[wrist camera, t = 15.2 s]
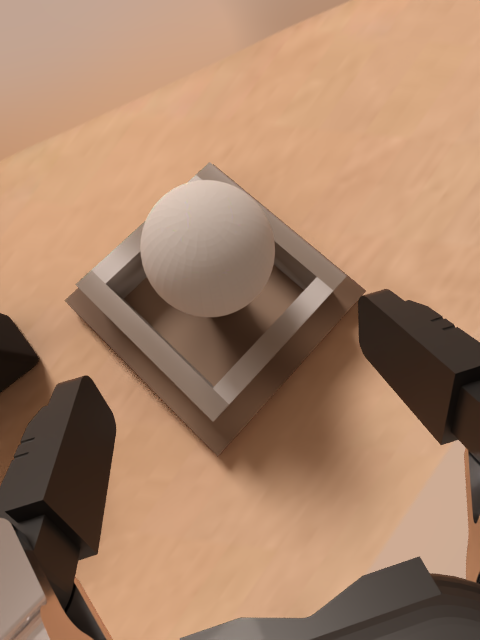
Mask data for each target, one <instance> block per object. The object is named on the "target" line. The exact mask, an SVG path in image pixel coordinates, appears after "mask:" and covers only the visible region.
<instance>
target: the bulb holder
mask: <svg viewBox="0 0 480 640" xmlns="http://www.w3.org/2000/svg"><path fill="white" fill-rule="evenodd" d="M198 180H214V181H220V182H224V183H228V184H230V185H233V186H235V187H237V188H239V189H240V190H242V191H244V192H245V193H247V192H246V191H245V190H244V189H243V188H241V187H240V186H239V185H238V184H236V183H235V182H234V181H233V180H232V179H230V178H229V177H228V176H227V175H226V174H224V173H223V172H222V171H221V170H220V169H218V168H217V167H216V166H215V165H214V164H213V165H212V164H211V163H210V162H209V163H208V164H207V165H206V166H205V167H204V168H203V169H202V170H201V171H200V172H198V173H197V174H196V175H195V176H194V177H193V178H192V179H191V180H190V181H189V182H193V181H198ZM187 183H188V182H187ZM247 194H248V195H249V196H250V197H252V196H251V195H250V194H249V193H247ZM252 198H253V197H252ZM253 199H254V200H255V201H256V203H257V204H258V205H259V206H260V207H261V209H262V210H263V212H264V213H265V215H266V216H267V219H268V221H269V223H270V225H271V228H272V232H273V236H274V243H275V257H274V265H273V268H272V272H271V275H270V277H269V279H268V281H267V283H266V285H265V287H264V288H263V289H262V291H261V292H260V294H259V295H258V296H257V297H256V298H255V299H254V300H253V301H252V302H250V303H249V304H248V305H247V306H245V307H244V308H242V309H240V310H238V311H236V312H234V313H231V314H228V315H224V316H219V317H199V316H194V315H190V314H187V313H184V312H182V311H180V310H178V309H176V308H174V307H173V306H171V305H170V304H168V303H167V302H166V301H165V300H164V299H163V298H162V297H160V296H159V295H158V293H157V292H156V291H155V289H154V288H153V287H152V285H151V284H150V282H149V280H148V278H147V276H146V274H145V271H144V268H143V265H142V259H141V253H140V245H141V235H142V230H143V227H144V224H145V222H144V223H143V224H141V225H140V226H139V227H138V228H137V229H136V230H135V231H134V232H133V233H132V234H130V235H129V236H128V237H127V238H126V239H125V240H124V241H123V242H122V243H121V244H119V245H118V246H117V247H116V248H115V249H114V250H113V251H112V252H111V253H110V254H109V255H107V256H106V257H105V258H104V259H103V260H102V261H101V262H100V263H99V264H98V265H96V266H95V267H94V268H93V269H92V270H91V271H90V272H89V273H88V274H87V275H85V276H84V277H83V278H82V279H81V280H80V281H79V282H78V283H77V284H76V286H77V287H78V289H77V290H76V291H75V292H73V293H72V294H71V295H70V296H69V297H68V298H67V299H66V300H65V301H66V302H67V303H68V304H69V306H70V307H71V308H72V309H73V310H74V311H75V312H76V313H77V314H78V315H79V316H80V317H81V318H82V319H83V320H84V321H85V322H86V323H87V324H88V325H89V326H90V327H91V328H92V329H93V330H94V331H95V332H96V333H97V334H98V335H99V336H100V337H101V338H102V339H103V340H104V341H105V342H106V343H107V344H108V345H109V346H110V347H111V348H112V349H113V350H114V351H115V352H116V353H117V354H118V355H119V356H120V357H121V358H122V359H123V360H124V361H125V362H126V364H127V365H128V366H129V367H130V368H131V369H132V370H133V371H134V372H135V373H136V374H137V375H138V376H139V377H140V378H141V379H142V380H143V381H144V382H145V383H146V384H147V385H148V386H149V387H150V388H151V389H152V390H153V391H154V392H155V393H156V394H157V395H158V396H159V397H160V398H161V399H162V400H163V401H164V402H165V403H166V404H167V405H168V406H169V407H170V408H171V409H172V410H173V411H174V412H175V413H176V414H177V415H178V416H179V417H180V418H181V419H182V420H183V422H184V423H185V424H186V425H187V426H188V427H189V428H190V429H191V430H192V431H193V432H194V433H195V434H196V435H197V436H198V437H199V438H200V439H201V440H202V441H203V442H204V443H205V444H206V445H207V446H208V447H209V448H210V449H211V450H212V451H213V452H214V453H215V454H216V455H217V456H219V455H220V454H221V453H222V451H223V450H224V449H225V448H226V447H227V446H228V445H229V444H230V442H231V441H232V440H233V439H234V438H235V437H236V436H237V435H238V434H239V432H240V431H241V430H242V429H243V428H244V427H245V426H246V425H247V423H248V422H249V421H250V420H251V419H252V418H253V417H254V416H255V415H256V413H257V412H258V411H259V410H260V409H261V408H262V407H263V406H264V404H265V403H266V402H267V401H268V400H269V399H270V398H271V397H272V396H273V394H274V393H275V392H276V391H277V390H278V389H279V388H280V387H281V385H282V384H283V383H284V382H285V381H286V380H287V379H288V378H289V377H290V375H291V374H292V373H293V372H294V371H295V370H296V369H297V368H298V366H299V365H300V364H301V363H302V362H303V361H304V360H305V359H306V358H307V356H308V355H309V354H310V353H311V352H312V351H313V350H314V349H315V347H316V346H317V345H318V344H319V343H320V342H321V341H322V340H323V339H324V337H325V336H326V335H327V334H328V333H329V332H330V331H331V330H332V328H333V327H334V326H335V325H336V324H337V323H338V322H339V321H340V320H341V318H342V317H343V316H344V315H345V314H346V313H347V312H348V311H349V309H350V308H351V307H352V306H353V305H354V304H355V303H356V302H357V301H358V299H359V298H360V297H361V296H362V295H363V294H364V293H365V292H366V290H364V289H363V288H362V287H361V286H360V285H358V284H357V283H356V282H355V281H354V280H352V279H351V278H350V277H349V276H348V275H346V274H345V273H344V272H343V271H342V270H340V269H339V268H338V267H337V266H336V265H334V264H333V263H332V262H331V261H329V260H328V259H327V258H326V257H325V256H323V255H322V254H321V253H320V252H319V251H317V250H316V249H315V248H314V247H313V246H311V245H310V244H309V243H308V242H307V241H305V240H304V239H303V238H302V237H300V236H299V235H298V234H297V233H296V232H294V231H293V230H292V229H291V228H290V227H288V226H287V225H286V224H285V223H284V222H282V221H281V220H280V219H279V218H278V217H276V216H275V215H274V214H273V213H271V212H270V211H269V210H268V209H267V208H265V207H264V206H263V205H262V204H261V203H259V202H258V201H257V200H256V199H255V198H253Z"/></svg>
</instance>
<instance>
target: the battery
mask: <svg viewBox="0 0 480 640" xmlns="http://www.w3.org/2000/svg"><path fill="white" fill-rule="evenodd" d="M37 363H38V356H37V355H36V353H35V352H34V351H33V349H32V348H31V346H30V345H29V344H28V342H27V341H26V339H25V338H24V337H23V335H22V334H21V332H20V331H19V330H18V328H17V327H16V325H15V324H14V323H13V321H12V320H11V318H10V317H9V316H7V315H4V314H1V313H0V392H2V391H3V390H4V389H5V388H7V387H8V386H9V385H11V384H12V383H13V382H15V381H16V380H17V379H18V378H20V377H21V376H22V375H24V374H25V373H26V372H28V371H29V370H30V369H31V368H33V367H34V366H35V365H36V364H37Z"/></svg>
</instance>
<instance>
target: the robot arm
mask: <svg viewBox="0 0 480 640" xmlns="http://www.w3.org/2000/svg"><path fill="white" fill-rule="evenodd" d="M358 319H359V343H360V347H361V349H362V352H363V354H364V355H365V357H366V358H367V360H368V361H369V362H370V363H371V364H372V365H373V367H374V368H375V369H376V370H377V371H378V372H379V374H380V375H381V376H382V377H383V378H384V379H385V381H386V382H387V383H388V384H389V385H390V386H391V388H392V389H393V390H394V391H395V392H396V393H397V395H398V396H399V397H400V398H401V399H402V400H403V402H404V403H405V404H406V405H407V406H408V407H409V408H410V410H411V411H412V412H413V413H414V414H415V415H416V417H417V418H418V419H419V420H420V421H421V422H422V424H423V425H424V426H425V427H426V428H427V429H428V431H429V432H430V433H431V434H432V435H433V436H434V438H435V439H436V440H437V441H438V442H439V443H440V445H443V444H446V443H449V442H452V441H456V440H459V441H460V442H461V443H462V444H463V445H464V446H465V447H466V449H465V453H464V460H465V477H466V493H467V511H468V528H469V536H468V547H467V557H466V579H462V578H459V577H455V576H448V575H441V574H430V573H429V572H428V570H427V568H426V567H425V565H424V563H423V562H422V560H421V558H420V557H417V558H414V559H411V560H408V561H405V562H402V563H399V564H396V565H393V566H390V567H387V568H384V569H381V570H379V571H375V572H373V573H370V574H367V575H364V576H362V577H361V578H359V579H358V580H357V581H355V582H354V583H353V584H352V585H350V586H349V587H348V588H347V589H345V590H344V591H343V592H341V593H340V594H339V595H338V596H336V597H335V598H334V599H333V600H331V601H330V602H329V603H327V604H326V605H325V606H324V607H322V608H321V609H320V610H319V611H317V612H316V613H315V614H313V615H312V616H310V617H307V618H238V619H235V620H232V621H229V622H226V623H223V624H220V625H218V626H215V627H212V628H209V629H206V630H203V631H200V632H197V633H194V634H191V635H188V636H185V637H182V638H180V640H480V342H478V341H477V340H475V339H474V338H472V337H471V336H470V335H468V334H467V333H465V332H464V331H462V330H461V329H460V328H458V327H456V328H455V326H454V324H452V323H451V322H449V321H448V320H447V319H443V318H442V316H441V315H439V314H438V313H437V312H435V311H434V310H432V309H431V308H429V307H428V306H425V305H422V304H419V303H416V302H413V301H410V300H408V301H404V300H402V299H401V298H400V297H398V296H397V295H396V294H394V293H393V292H392V291H390V290H388V289H384V290H381V291H377V292H374V293H370V294H367V295H363V296H361V297H360V298H359V302H358ZM115 436H116V423H115V419H114V416H113V413H112V411H111V409H110V408H109V406H108V405H107V403H106V401H105V400H104V398H103V396H102V395H101V393H100V392H99V390H98V388H97V387H96V385H95V384H94V382H93V380H92V379H91V378H90V377H89V376H82V377H79V378H75V379H72V380H68V381H65V382H62V383H59V384H57V385H56V387H55V389H54V392H53V394H52V396H51V399H50V401H49V404H48V406H44V407H42V408H41V410H40V411H39V412H38V413H37V414H36V415H35V417H34V418H33V419H32V420H31V421H30V423H29V424H28V426H27V428H26V430H25V433H24V435H23V437H22V439H21V445H19V446H18V448H17V450H16V453H15V455H14V458H15V459H14V460H12V462H11V464H10V466H9V468H8V471H7V473H6V475H5V477H4V480H3V482H2V484H1V486H0V640H113V639H112V637H111V635H110V634H109V632H108V630H107V628H106V627H105V625H104V623H103V621H102V620H101V618H100V616H99V615H98V613H97V611H96V609H95V608H94V606H93V604H92V602H91V601H90V599H89V597H88V596H87V594H86V592H85V590H84V589H83V587H82V585H81V583H80V582H79V580H78V579H77V578H76V577H75V574H76V568H77V563H78V560H81V559H84V558H87V557H90V556H94V555H97V554H98V548H99V541H100V535H101V528H102V522H103V515H104V508H105V502H106V495H107V489H108V482H109V476H110V469H111V463H112V456H113V449H114V443H115Z"/></svg>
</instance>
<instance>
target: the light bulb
mask: <svg viewBox="0 0 480 640" xmlns="http://www.w3.org/2000/svg"><path fill="white" fill-rule="evenodd" d="M140 253H141V259H142V265H143V268H144V271H145V274H146V276H147V278H148V280H149V282H150V284H151V285H152V287H153V288H154V289H155V291H156V292H157V293H158V295H159V296H160V297H162V298H163V299H164V300H165V301H166V302H167V303H168V304H170V305H171V306H173V307H174V308H176V309H178V310H180V311H182V312H184V313H187V314H190V315H194V316H199V317H219V316H224V315H228V314H231V313H234V312H236V311H238V310H240V309H242V308H244V307H245V306H247V305H248V304H249V303H250V302H252V301H253V300H254V299H255V298H256V297H257V296H258V295H259V294H260V292H261V291H262V289H263V288H264V287H265V285H266V283H267V281H268V279H269V277H270V275H271V272H272V268H273V265H274V257H275V243H274V236H273V232H272V228H271V225H270V223H269V221H268V219H267V216H266V215H265V213H264V212H263V210H262V209H261V207H260V206H259V205H258V204H257V203H256V201H255V200H254V199H253V198H252V197H250V196H249V195H248V194H247V193H245V192H244V191H242V190H240V189H239V188H237V187H235V186H233V185H230V184H228V183H224V182H220V181H214V180H198V181H193V182H188V183H185V184H182V185H180V186H178V187H176V188H174V189H172V190H171V191H169V192H168V193H166V194H165V195H164V196H163V197H162V198H161V199H160V200H159V201H158V202H157V203H156V204H155V206H154V207H153V208H152V210H151V211H150V213H149V215H148V217H147V219H146V221H145V224H144V227H143V230H142V235H141V245H140Z"/></svg>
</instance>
